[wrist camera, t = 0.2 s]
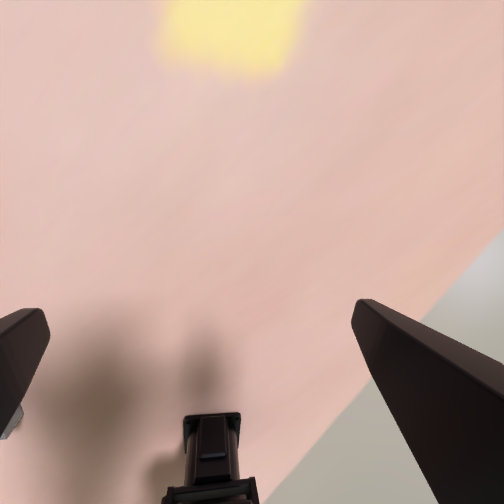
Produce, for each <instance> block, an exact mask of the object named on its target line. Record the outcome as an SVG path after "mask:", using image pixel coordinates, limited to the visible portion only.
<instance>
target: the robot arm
mask: <svg viewBox="0 0 504 504" xmlns="http://www.w3.org/2000/svg"><path fill="white" fill-rule="evenodd" d="M351 326H352V329H353V332H354V334H355V337H356V339H357V342H358V344H359V346H360V349H361V351H362V354H363V356H364V359H365V361H366V364H367V366H368V368H369V371H370V373H371V375H372V377H373V379H374V381H375V383H376V385H377V387H378V389H379V391H380V392H381V394H382V396H383V398H384V400H385V402H386V403H387V406H388V408H389V410H390V412H391V413H392V415H393V417H394V419H395V421H396V423H397V425H398V426H399V428H400V431H401V433H402V434H403V436H404V438H405V440H406V442H407V444H408V446H409V448H410V450H411V452H412V453H413V456H414V457H415V459H416V461H417V463H418V465H419V467H420V469H421V471H422V473H423V475H424V477H425V478H426V480H427V482H428V484H429V486H430V488H431V490H432V492H433V494H434V496H435V498H436V499H437V501H438V503H439V504H504V365H503V364H502V363H500V362H498V361H496V360H494V359H492V358H490V357H488V356H486V355H484V354H482V353H480V352H478V351H476V350H474V349H472V348H470V347H468V346H466V345H464V344H462V343H460V342H458V341H456V340H454V339H452V338H450V337H448V336H446V335H444V334H441V333H439V332H437V331H435V330H433V329H431V328H429V327H427V326H425V325H423V324H421V323H419V322H417V321H415V320H413V319H411V318H409V317H407V316H405V315H403V314H401V313H399V312H397V311H395V310H393V309H391V308H389V307H387V306H385V305H383V304H381V303H379V302H377V301H375V300H372V299H359V300H358V301H357V302H356V305H355V308H354V312H353V316H352V319H351ZM49 340H50V330H49V327H48V324H47V321H46V318H45V314H44V312H43V311H42V309H40V308H24V309H20V310H18V311H16V312H14V313H11V314H9V315H7V316H5V317H3V318H1V319H0V438H1V436H2V434H3V432H4V431H5V429H6V427H7V425H8V424H9V422H10V420H11V419H12V417H13V415H14V413H15V412H16V410H17V408H18V406H19V405H20V403H21V401H22V399H23V397H24V395H25V393H26V391H27V389H28V387H29V385H30V383H31V381H32V378H33V376H34V374H35V372H36V369H37V367H38V365H39V363H40V361H41V358H42V356H43V354H44V352H45V350H46V347H47V345H48V343H49ZM240 424H241V414H240V413H226V414H212V415H199V416H187V417H185V418H184V442H185V454H187V455H186V467H185V480H184V486H182V487H174V486H172V487H168V490H167V495H166V496H165V497H163V498H162V502H161V504H259V498H258V493H257V487H256V481H255V477H249V478H248V479H240V475H239V462H238V445H239V434H240Z"/></svg>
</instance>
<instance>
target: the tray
mask: <svg viewBox="0 0 504 504" xmlns="http://www.w3.org/2000/svg"><path fill="white" fill-rule="evenodd" d="M23 414H24V413H23V411H22V408H21V406H20V405H19V406H18V408H17V410H16V412H15V413H14V415H13V417H12V419H11V420H10V422H9V424H8V425H7V427H6V429H5V431H4V432H3V434H2V436H1V438H0V440H3V439H7V438H8V437H9V435H10V434H11V432H12V431H13V429H14V428H15V426H16V425H17V423H18V422H19V420H20V419H21V417H22V416H23Z"/></svg>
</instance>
